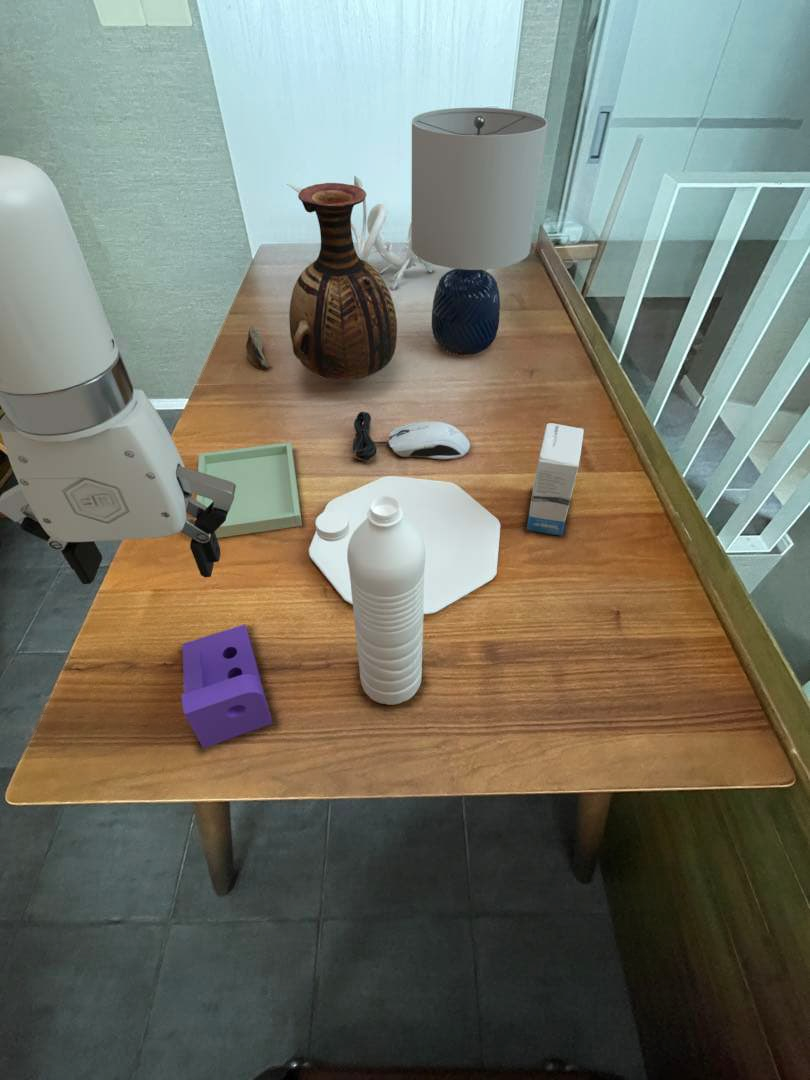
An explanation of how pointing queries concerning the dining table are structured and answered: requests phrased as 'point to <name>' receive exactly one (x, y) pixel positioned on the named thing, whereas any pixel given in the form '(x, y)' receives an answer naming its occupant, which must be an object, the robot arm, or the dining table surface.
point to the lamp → (473, 211)
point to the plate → (446, 529)
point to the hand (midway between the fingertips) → (151, 568)
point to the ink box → (555, 478)
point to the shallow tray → (256, 488)
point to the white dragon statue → (374, 227)
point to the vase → (340, 296)
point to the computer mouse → (412, 440)
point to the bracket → (223, 687)
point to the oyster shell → (255, 349)
